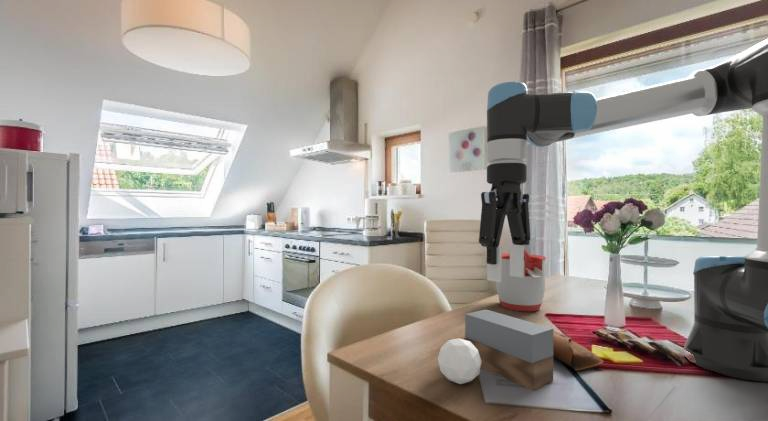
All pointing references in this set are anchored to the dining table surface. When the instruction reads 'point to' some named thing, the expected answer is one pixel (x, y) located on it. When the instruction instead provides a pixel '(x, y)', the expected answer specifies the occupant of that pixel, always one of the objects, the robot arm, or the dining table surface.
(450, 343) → the geometric ball
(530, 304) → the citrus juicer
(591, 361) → the sunglasses case
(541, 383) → the tower base block
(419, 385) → the dining table surface
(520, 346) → the tower top block
